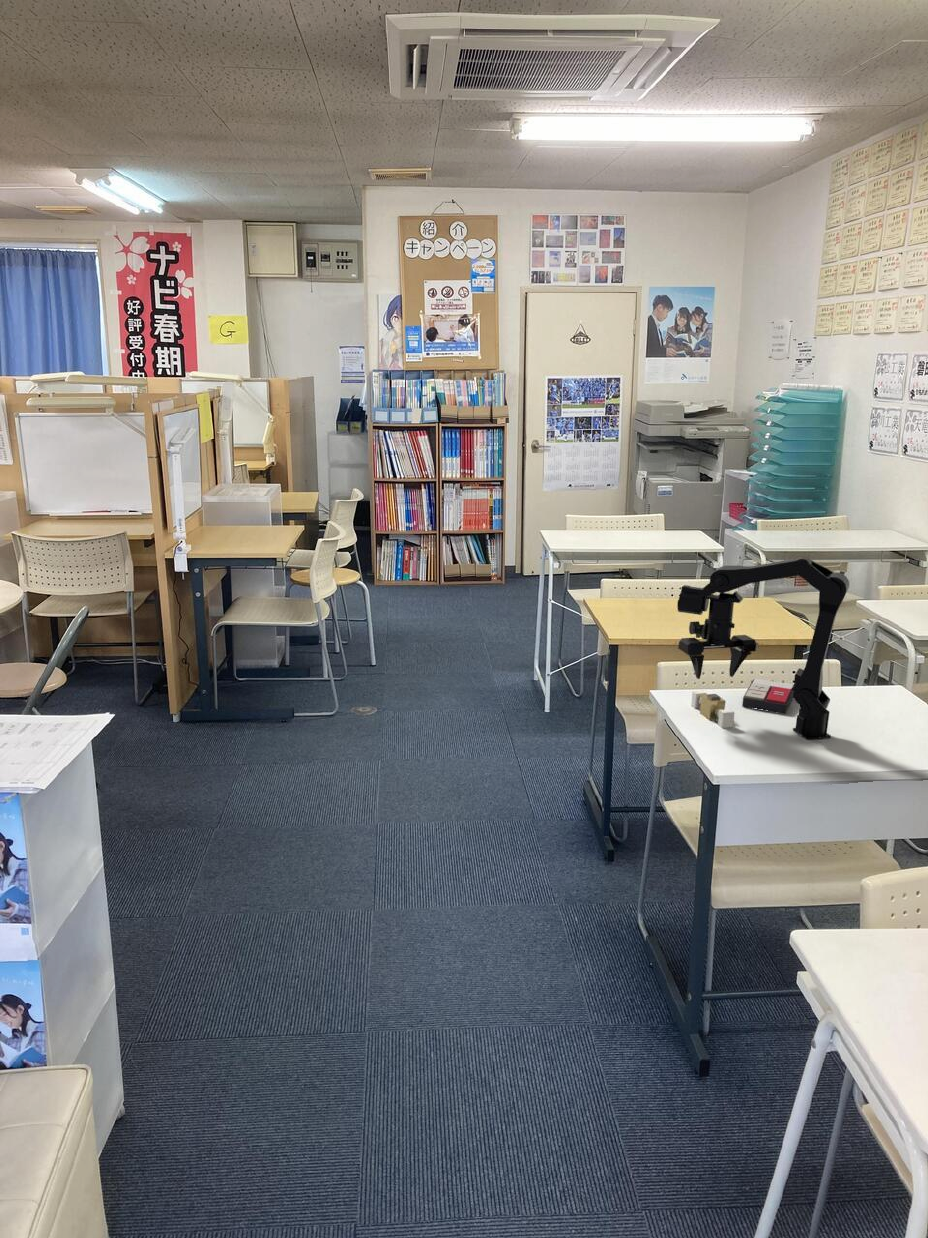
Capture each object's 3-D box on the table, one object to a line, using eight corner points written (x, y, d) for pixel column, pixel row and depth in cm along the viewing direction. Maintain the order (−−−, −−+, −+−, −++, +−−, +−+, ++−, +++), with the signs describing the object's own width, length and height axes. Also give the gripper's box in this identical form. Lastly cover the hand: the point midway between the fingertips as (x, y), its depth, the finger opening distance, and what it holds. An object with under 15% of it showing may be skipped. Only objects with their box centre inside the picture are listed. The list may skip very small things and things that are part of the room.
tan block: (714, 712, 237) (716, 691, 235) (723, 719, 232) (725, 698, 231) (699, 713, 236) (701, 692, 234) (709, 720, 231) (711, 699, 230)
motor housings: (701, 704, 242) (703, 690, 241) (732, 727, 227) (734, 711, 226) (691, 705, 241) (692, 691, 240) (721, 728, 226) (723, 712, 225)
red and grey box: (742, 695, 240) (753, 676, 253) (741, 710, 241) (752, 690, 254) (787, 702, 235) (795, 682, 248) (785, 717, 237) (793, 697, 249)
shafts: (704, 707, 240) (705, 695, 239) (727, 724, 229) (728, 711, 228) (696, 708, 239) (697, 695, 238) (719, 725, 228) (720, 712, 227)
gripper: (737, 607, 237) (731, 665, 241) (670, 610, 233) (666, 669, 237) (760, 618, 227) (754, 679, 231) (691, 622, 222) (686, 683, 226)
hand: (714, 677), depth 231 cm, fingers open, 9 cm apart
